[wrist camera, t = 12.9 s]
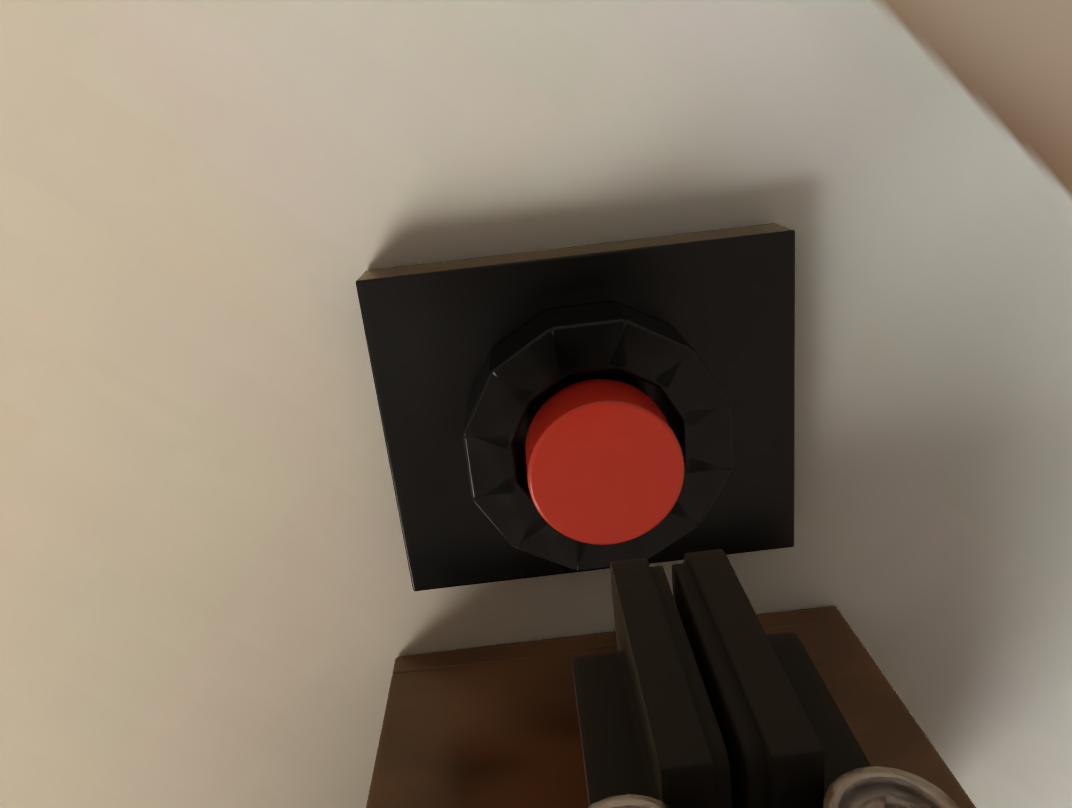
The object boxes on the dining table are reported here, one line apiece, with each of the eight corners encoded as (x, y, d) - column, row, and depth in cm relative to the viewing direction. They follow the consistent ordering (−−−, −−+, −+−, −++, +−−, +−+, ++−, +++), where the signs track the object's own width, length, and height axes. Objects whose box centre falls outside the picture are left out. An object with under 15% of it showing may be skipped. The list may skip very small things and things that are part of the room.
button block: (418, 564, 24) (405, 634, 21) (364, 270, 21) (339, 298, 18) (777, 522, 24) (821, 585, 21) (775, 222, 21) (827, 241, 18)
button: (534, 519, 20) (536, 554, 19) (517, 386, 19) (519, 411, 17) (673, 502, 20) (688, 536, 19) (666, 369, 19) (681, 392, 17)
